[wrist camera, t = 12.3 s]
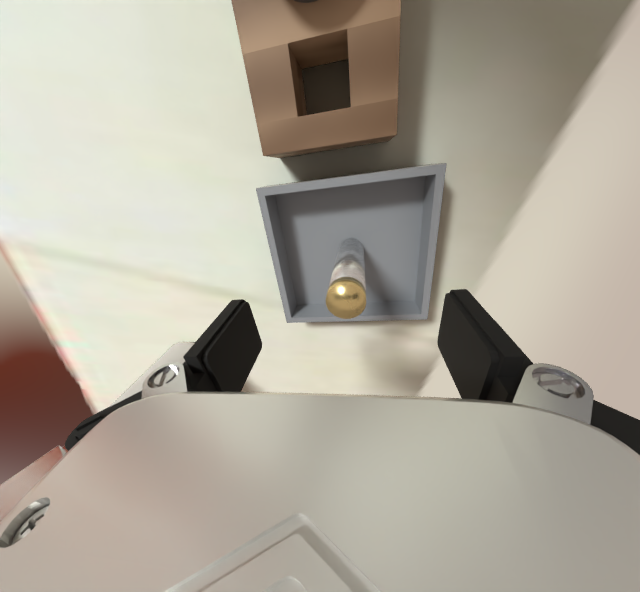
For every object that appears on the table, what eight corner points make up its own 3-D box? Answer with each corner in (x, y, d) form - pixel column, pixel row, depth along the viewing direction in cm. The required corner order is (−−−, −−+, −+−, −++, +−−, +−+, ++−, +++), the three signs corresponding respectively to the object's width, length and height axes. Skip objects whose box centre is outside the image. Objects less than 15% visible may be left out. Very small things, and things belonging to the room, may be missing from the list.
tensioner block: (239, -72, 14) (166, -223, 8) (393, -126, 12) (423, -351, 7) (279, 157, 20) (251, 154, 14) (388, 141, 18) (403, 129, 13)
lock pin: (337, 239, 22) (323, 284, 13) (363, 236, 21) (365, 282, 13) (339, 262, 23) (327, 319, 14) (364, 261, 22) (366, 318, 14)
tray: (268, 185, 21) (255, 188, 18) (433, 163, 18) (446, 163, 16) (293, 307, 27) (286, 322, 24) (419, 303, 24) (427, 319, 22)
